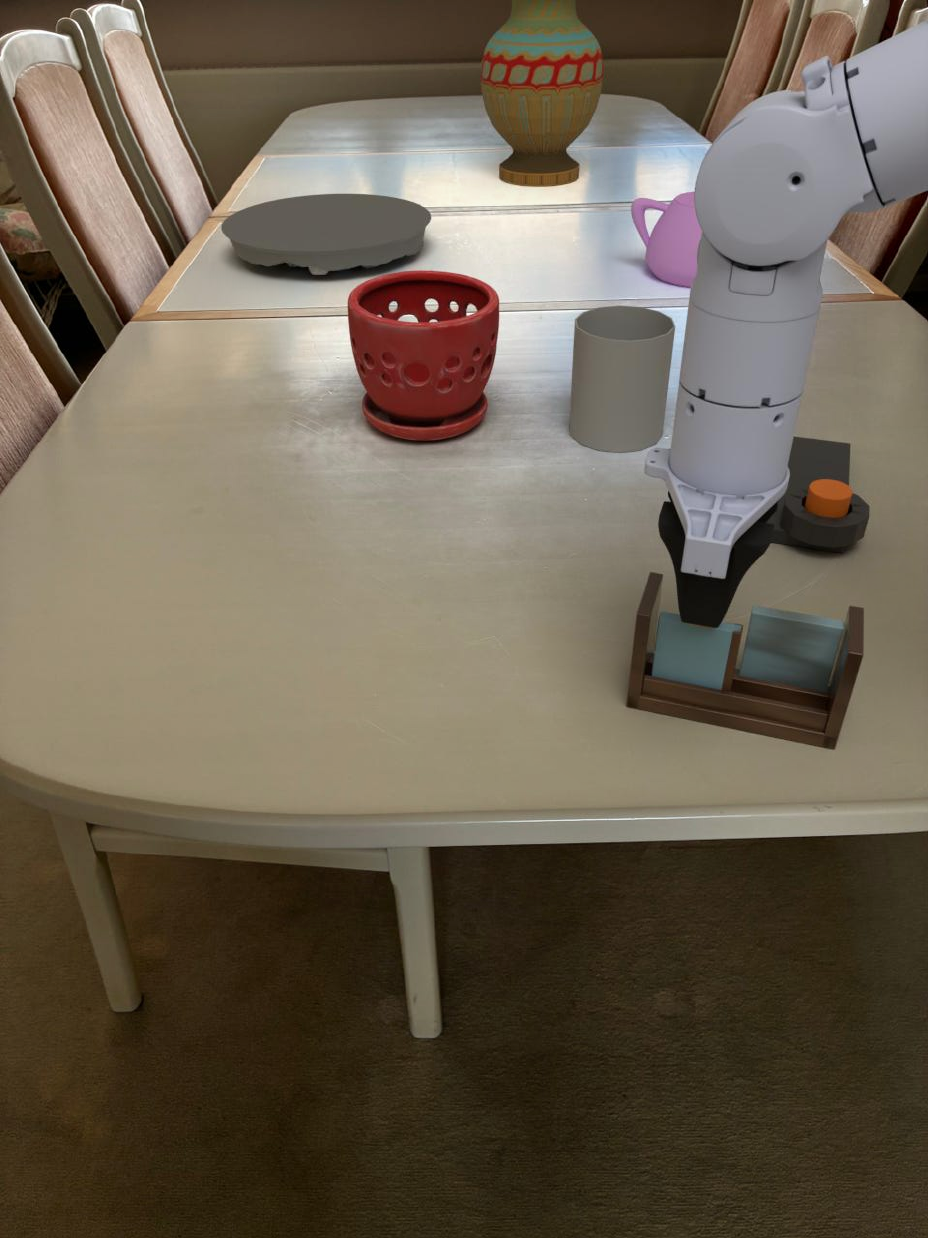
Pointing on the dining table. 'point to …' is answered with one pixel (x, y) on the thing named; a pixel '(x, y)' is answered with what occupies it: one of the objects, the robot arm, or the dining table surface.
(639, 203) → the teapot
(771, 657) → the brown wooden rack
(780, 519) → the button block
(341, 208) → the flat disc
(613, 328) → the cup
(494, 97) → the vase
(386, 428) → the flower pot
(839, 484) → the button
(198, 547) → the dining table surface
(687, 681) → the pane
